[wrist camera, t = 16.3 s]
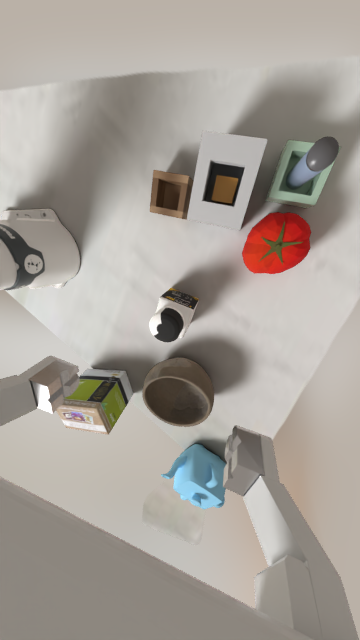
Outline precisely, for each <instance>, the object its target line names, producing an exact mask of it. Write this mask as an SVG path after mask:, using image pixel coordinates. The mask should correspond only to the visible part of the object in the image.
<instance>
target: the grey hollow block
mask: <svg viewBox="0 0 360 640" xmlns="http://www.w3.org/2000/svg"><path fill="white" fill-rule="evenodd" d="M267 140H268V139H264V138H256V137H248V136H241V135H233V134H225V133H218V132H210V131H202V136H201V142H200V148H199V153H198V159H197V165H196V170H195V176H194V181H193V187H192V193H191V198H190V204H189V209H188V215H187V220H191V221H196V222H200V223H205V224H210V225H215V226H220V227H224V228H229V229H234V230H239V231H240V229H241V226H242V222H243V219H244V216H245V212H246V209H247V206H248V202H249V199H250V196H251V193H252V189H253V186H254V183H255V179H256V176H257V173H258V170H259V166H260V163H261V160H262V156H263V153H264V150H265V147H266V143H267ZM217 175H220V176H226V177H232V178H238V185H237V189H236V192H235V196H234V200H233V203H232V205H227V204H222V203H216V202H213V201H212V200H211V199H212V195H213V190H214V186H215V182H216V177H217Z"/></svg>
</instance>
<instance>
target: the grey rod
mask: <svg viewBox="0 0 360 640" xmlns="http://www.w3.org/2000/svg"><path fill="white" fill-rule="evenodd" d="M338 151H339V145H338V142H337V140H336V139H334V138H333V137H324V138H322V139H320V140H318V141H317V142H316V143H315V144H314V145H313V146H312V147H311V148H310V149H309V151H308V152H307V153H306V154H305V155H304V156H303V157H302V158H301V160H300V161H299V162H298V163H297V164H296V165H295V166H294V168H293V169H292V170H291V171H290V172H289V173H288V175H287V177H286V185H287V187H288V188H290V189H297V188H299V187H301V186H302V185H303V184H305V183H306V182H308V181H309V180H310V179H312V178H313V177H315V176H316V175H317V174H319V173H320V172H321V171H323V170H324V169H326V168H327V167H328V166H330V165H331V164H332V163H333V162H334V160H335V159H336V157H337V155H338Z"/></svg>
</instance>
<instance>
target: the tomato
mask: <svg viewBox="0 0 360 640" xmlns="http://www.w3.org/2000/svg"><path fill="white" fill-rule="evenodd" d="M310 234H311V230H310V227H309V225H308V223H307V222H306V221H305V220H304V219H303V218H302V217H300V216H299V215H298V214H295V213H289V212H288V213H284V214H283V213H279V212H276V213H269V214H268V215H267V216H266V217H264V218H263V219H262V220H261V221H260V222H259V223H258V224H256V225H255V226H254V227H253V228H252V230H251V231H250V233H249V235H248V237H247V240H246V243H245V246H244V249H243V252H242V255H243V260H244V263H245V265H246V266H247V268H248V269H249V270H250V271H251V272H253V273H269V274H275V273H281V272H283V271H285V270H288V269H290V268H292V267H294V266H296V265H297V264H298V263H300V262H301V261H302V260H303V259H304V258H305V257H306V256H307V254H308V252H309V250H310V242H309V238H310Z"/></svg>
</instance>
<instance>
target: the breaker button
mask: <svg viewBox="0 0 360 640" xmlns="http://www.w3.org/2000/svg"><path fill="white" fill-rule="evenodd" d="M237 185H238V178H232V177H226V176H220V175H217V177H216V182H215V186H214V190H213V195H212V199H211V200H212V201H213V202H216V203H222V204H227V205H232V203H233V200H234V196H235V192H236V189H237Z"/></svg>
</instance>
